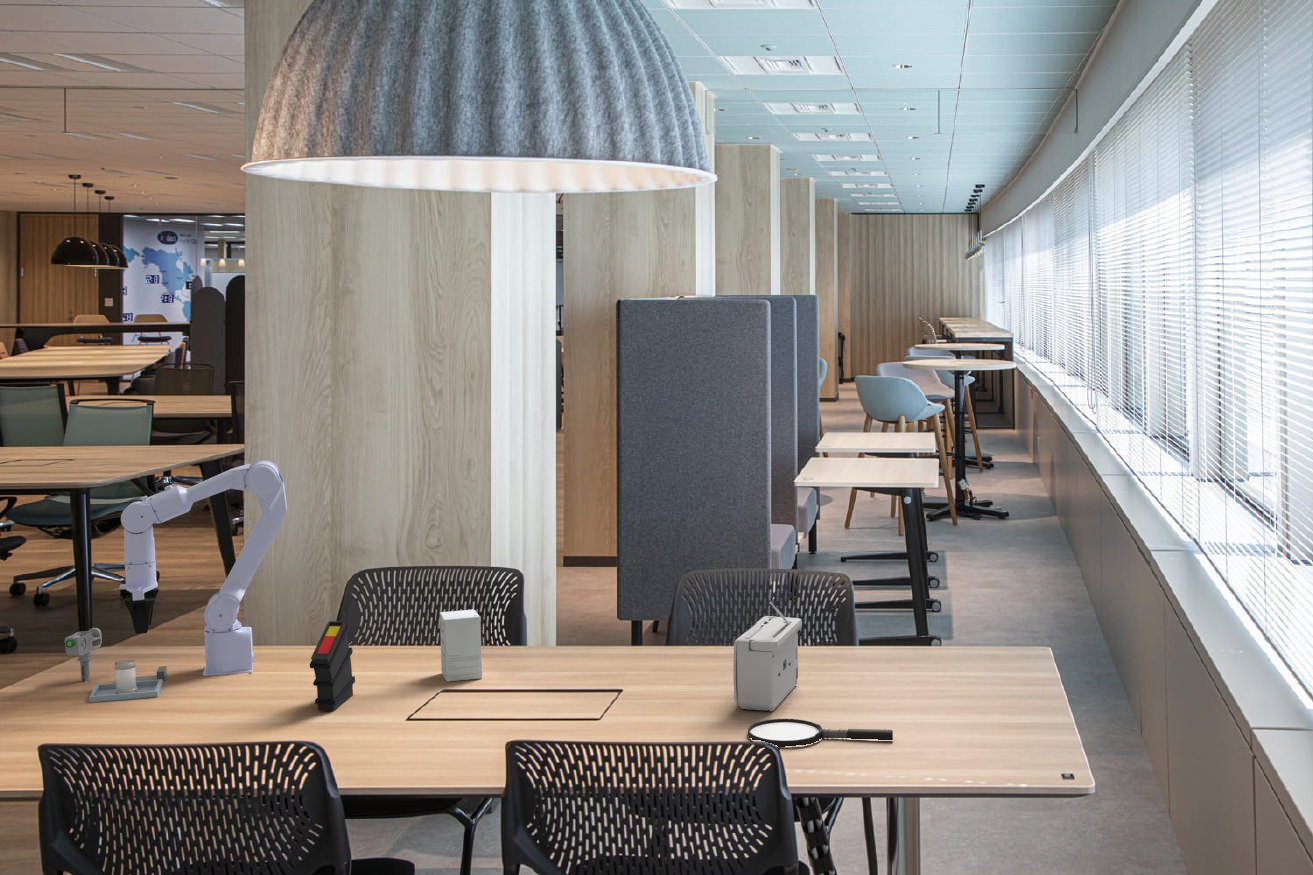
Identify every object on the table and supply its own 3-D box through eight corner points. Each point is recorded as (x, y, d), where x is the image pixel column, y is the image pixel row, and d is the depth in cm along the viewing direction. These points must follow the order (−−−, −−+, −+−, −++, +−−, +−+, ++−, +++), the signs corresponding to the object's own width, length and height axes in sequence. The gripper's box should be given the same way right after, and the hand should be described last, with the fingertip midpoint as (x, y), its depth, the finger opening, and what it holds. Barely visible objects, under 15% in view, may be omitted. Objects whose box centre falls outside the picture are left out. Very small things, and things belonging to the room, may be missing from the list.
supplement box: (477, 669, 260) (475, 608, 259) (482, 679, 253) (481, 616, 252) (440, 672, 258) (439, 611, 257) (445, 682, 251) (443, 618, 250)
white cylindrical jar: (137, 689, 247) (136, 658, 247) (135, 694, 244) (134, 663, 243) (117, 691, 246) (115, 660, 246) (114, 696, 243) (113, 665, 242)
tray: (162, 686, 251) (162, 679, 251) (157, 699, 242) (157, 691, 242) (96, 691, 248) (96, 684, 248) (89, 704, 239) (88, 696, 239)
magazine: (360, 682, 246) (347, 620, 238) (340, 730, 235) (325, 666, 227) (341, 681, 246) (327, 619, 239) (320, 729, 235) (304, 666, 227)
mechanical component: (106, 675, 260) (103, 626, 259) (78, 689, 250) (76, 638, 249) (92, 675, 260) (89, 626, 259) (64, 689, 250) (61, 638, 249)
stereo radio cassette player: (762, 681, 249) (761, 579, 247) (803, 684, 246) (803, 581, 245) (732, 711, 229) (731, 601, 228) (776, 715, 227) (776, 603, 225)
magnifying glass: (893, 754, 205) (892, 741, 205) (744, 751, 210) (743, 738, 209) (892, 731, 218) (892, 718, 217) (751, 728, 222) (751, 715, 222)
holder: (168, 676, 259) (167, 665, 259) (165, 682, 254) (165, 671, 254) (123, 679, 257) (123, 668, 256) (119, 686, 252) (119, 675, 251)
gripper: (122, 557, 262) (126, 622, 263) (114, 569, 248) (117, 638, 249) (159, 555, 264) (162, 620, 265) (153, 567, 250) (156, 635, 251)
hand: (143, 628), depth 257 cm, fingers open, 7 cm apart
